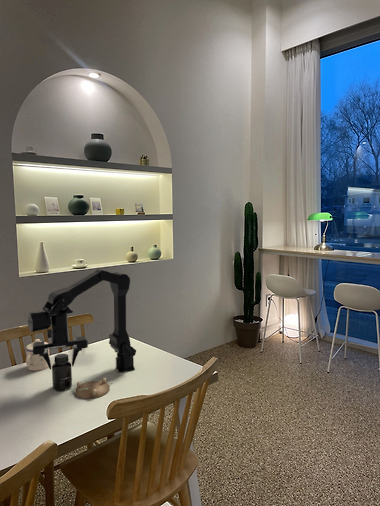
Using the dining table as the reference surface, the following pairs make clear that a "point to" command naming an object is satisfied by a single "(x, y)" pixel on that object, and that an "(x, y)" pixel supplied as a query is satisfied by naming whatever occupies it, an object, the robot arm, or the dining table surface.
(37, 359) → the teacup with lid
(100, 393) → the dowel base
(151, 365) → the dining table surface
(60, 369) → the supplement bottle
